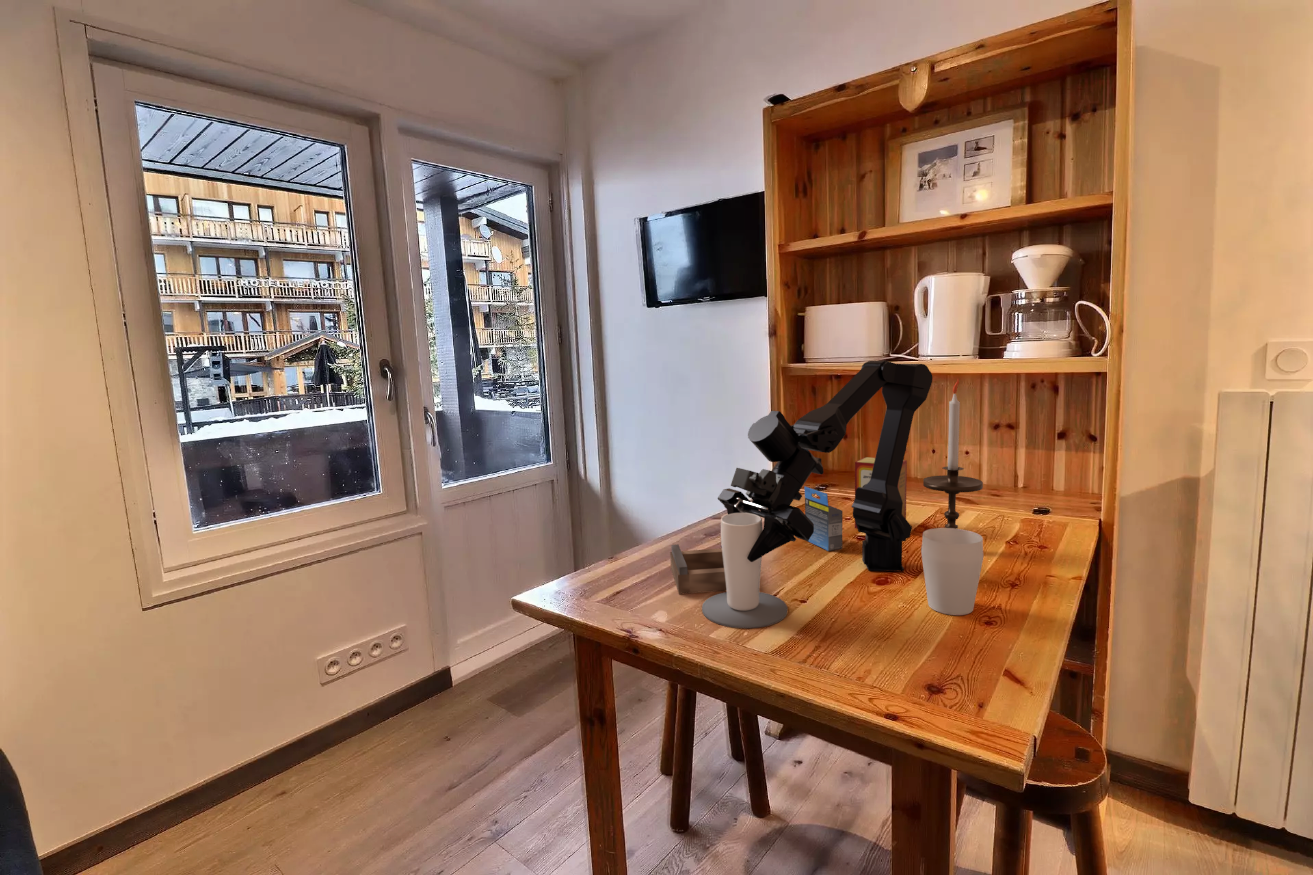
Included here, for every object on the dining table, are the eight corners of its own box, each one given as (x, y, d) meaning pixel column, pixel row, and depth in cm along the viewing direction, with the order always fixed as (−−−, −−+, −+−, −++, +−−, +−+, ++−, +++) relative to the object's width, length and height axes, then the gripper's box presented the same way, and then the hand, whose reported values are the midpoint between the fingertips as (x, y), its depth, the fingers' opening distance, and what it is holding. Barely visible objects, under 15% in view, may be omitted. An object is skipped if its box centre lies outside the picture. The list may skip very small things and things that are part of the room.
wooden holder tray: (735, 564, 128) (734, 540, 128) (750, 588, 115) (750, 562, 115) (670, 568, 127) (669, 544, 127) (678, 593, 114) (677, 567, 114)
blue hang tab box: (843, 549, 135) (843, 491, 133) (827, 552, 133) (827, 494, 132) (819, 537, 143) (818, 483, 141) (804, 540, 142) (803, 485, 140)
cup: (978, 623, 98) (980, 547, 96) (915, 612, 103) (916, 540, 101) (984, 602, 106) (986, 531, 104) (925, 592, 110) (926, 525, 109)
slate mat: (785, 594, 112) (785, 591, 112) (789, 629, 99) (789, 626, 99) (705, 592, 115) (705, 589, 114) (698, 626, 101) (698, 623, 101)
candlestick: (993, 554, 128) (999, 377, 122) (947, 562, 125) (952, 381, 119) (953, 539, 138) (957, 375, 133) (910, 545, 135) (913, 378, 130)
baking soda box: (854, 528, 149) (855, 460, 147) (865, 521, 154) (865, 455, 152) (896, 534, 143) (897, 463, 141) (905, 527, 148) (906, 458, 146)
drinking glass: (752, 618, 102) (750, 528, 99) (715, 608, 106) (712, 521, 103) (770, 601, 108) (769, 515, 105) (735, 592, 112) (733, 510, 109)
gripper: (725, 443, 113) (674, 514, 109) (800, 456, 97) (743, 541, 93) (760, 480, 118) (713, 550, 114) (837, 499, 102) (785, 581, 98)
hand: (735, 554), depth 104 cm, fingers closed on drinking glass, 7 cm apart
